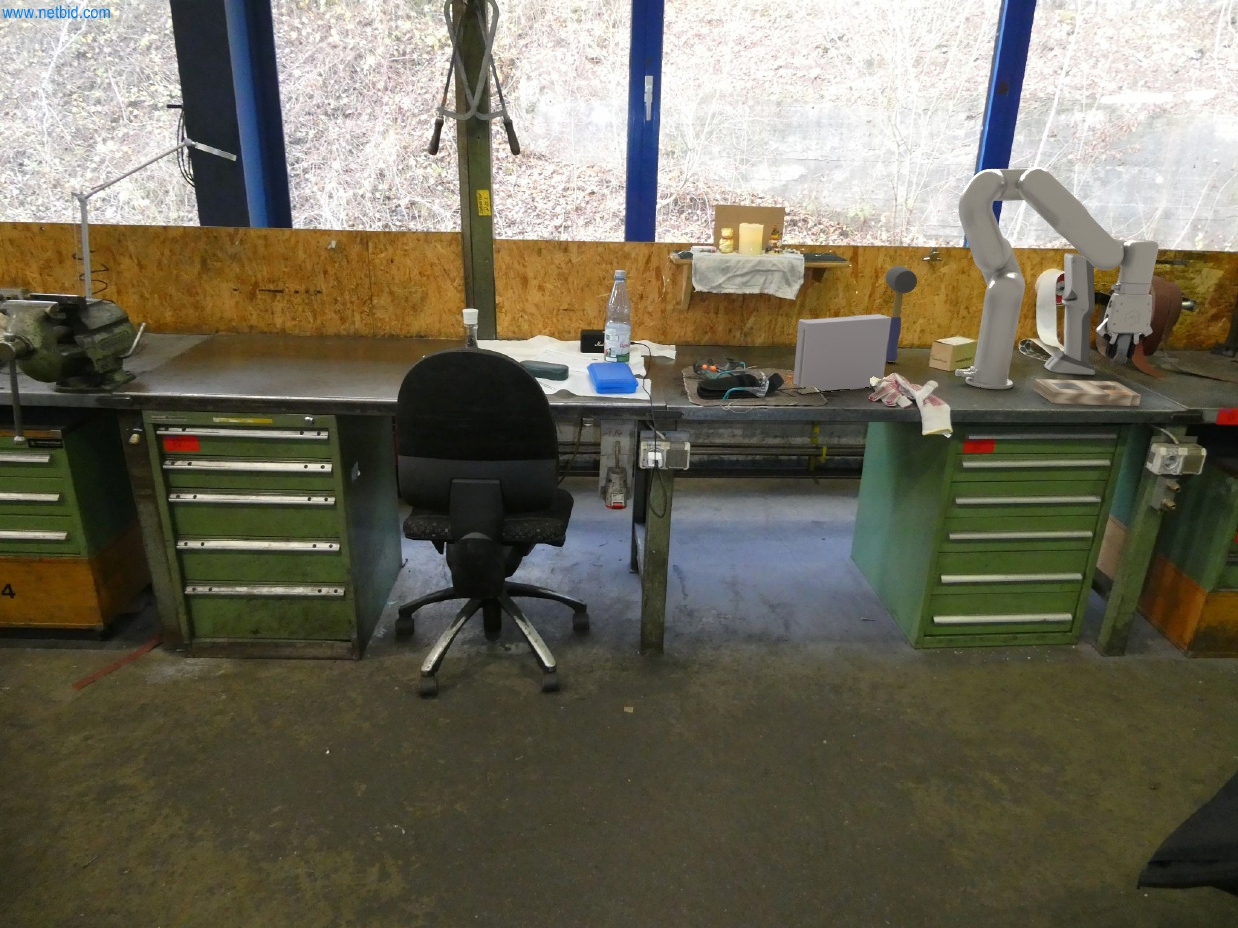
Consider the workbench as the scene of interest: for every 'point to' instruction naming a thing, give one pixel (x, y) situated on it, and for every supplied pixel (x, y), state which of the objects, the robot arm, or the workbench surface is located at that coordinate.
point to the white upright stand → (1076, 318)
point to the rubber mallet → (898, 304)
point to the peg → (1121, 348)
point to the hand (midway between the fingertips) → (1118, 357)
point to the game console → (841, 351)
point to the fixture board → (1086, 392)
